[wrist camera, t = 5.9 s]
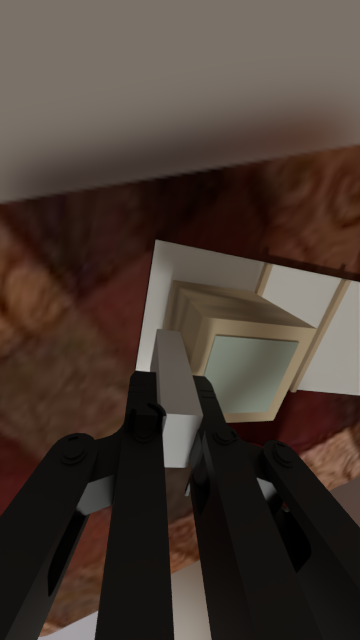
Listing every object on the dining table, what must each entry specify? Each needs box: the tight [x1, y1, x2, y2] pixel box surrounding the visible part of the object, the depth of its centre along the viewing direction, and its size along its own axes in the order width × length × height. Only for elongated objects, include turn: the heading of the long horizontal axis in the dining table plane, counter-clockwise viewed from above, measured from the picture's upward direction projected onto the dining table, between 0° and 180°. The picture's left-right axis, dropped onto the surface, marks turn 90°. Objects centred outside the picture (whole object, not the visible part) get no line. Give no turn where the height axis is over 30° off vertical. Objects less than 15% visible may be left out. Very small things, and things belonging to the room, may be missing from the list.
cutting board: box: [136, 240, 360, 395], centre depth 21 cm, size 30×12×1 cm, turn 78°
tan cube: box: [164, 280, 317, 423], centre depth 16 cm, size 7×7×7 cm
